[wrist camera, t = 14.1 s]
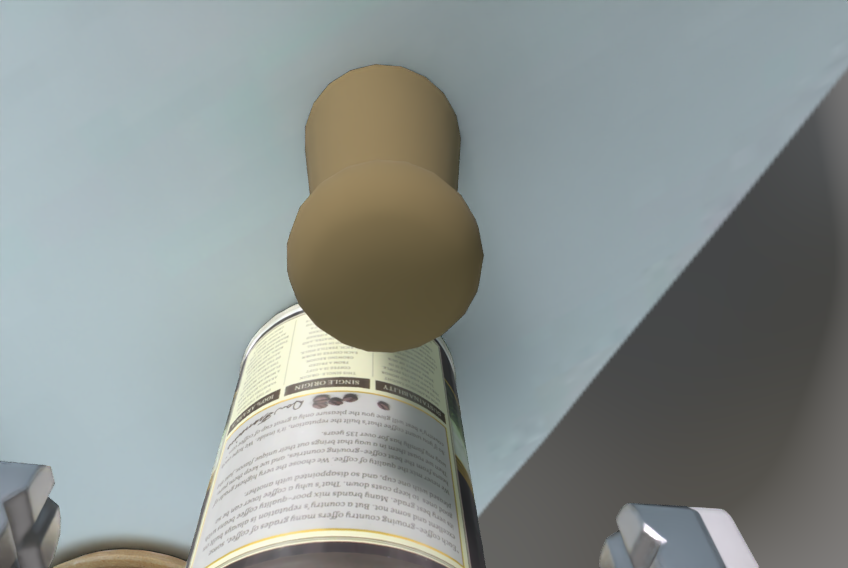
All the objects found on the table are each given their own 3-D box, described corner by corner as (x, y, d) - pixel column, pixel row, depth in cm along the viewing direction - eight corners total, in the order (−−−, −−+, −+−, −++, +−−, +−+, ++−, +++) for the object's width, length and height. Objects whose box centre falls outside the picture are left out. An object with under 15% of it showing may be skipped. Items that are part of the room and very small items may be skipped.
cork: (292, 70, 24) (238, 186, 15) (458, 58, 24) (510, 166, 15) (316, 221, 27) (283, 397, 18) (462, 209, 27) (508, 378, 18)
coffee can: (495, 401, 33) (565, 702, 21) (327, 488, 35) (301, 802, 23) (377, 249, 28) (376, 523, 16) (191, 361, 30) (69, 674, 18)
